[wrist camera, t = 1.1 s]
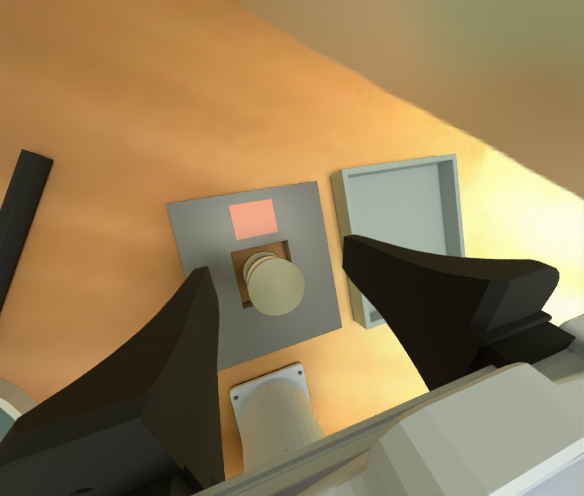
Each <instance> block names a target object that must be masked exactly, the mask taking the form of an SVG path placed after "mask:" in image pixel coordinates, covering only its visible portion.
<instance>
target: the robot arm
mask: <svg viewBox="0 0 584 496" xmlns="http://www.w3.org/2000/svg"><path fill="white" fill-rule="evenodd" d="M342 268H343V269H344V271H345V272H346V274H347V276H348V277H349V279H350V280H351V281H352V283H353V284H354V285H355V286H356V287H357V288H358V290H359V291H360V292H361V293H362V294H363V295H364V296H365V297H366V299H367V300H368V301H369V302H370V303H371V304H372V305H373V306H374V307H375V309H376V310H377V311H378V312H379V313H380V315H381V316H382V317H383V319H384V320H385V321H386V323H387V324H388V326H389V327H390V328H391V330H392V331H393V333H394V334H395V336H396V337H397V339H398V340H399V342H400V343H401V345H402V346H403V348H404V349H405V351H406V352H407V354H408V356H409V357H410V359H411V360H412V362H413V364H414V365H415V367H416V368H417V370H418V372H419V374H420V375H421V377H422V379H423V381H424V382H425V384H426V386H427V388H428V389H429V391H430V392H428V393H425V394H423V395H421V396H419V397H416V398H414V399H412V400H409V401H407V402H405V403H403V404H400V405H398V406H396V407H393V408H391V409H389V410H386V411H384V412H382V413H380V414H377V415H375V416H373V417H370V418H368V419H366V420H364V421H361V422H359V423H357V424H354V425H352V426H350V427H347V428H345V429H343V430H341V431H338V432H336V433H334V434H331V435H329V436H327V437H325V435H324V433H323V431H322V429H321V427H320V425H319V423H318V420H317V418H316V416H315V414H314V412H313V410H312V408H311V403H310V398H309V393H308V388H307V384H306V379H305V374H304V369H303V366H302V364H301V363H296V364H293V365H291V366H288V367H286V368H283V369H280V370H278V371H275V372H272V373H270V374H267V375H264V376H262V377H259V378H256V379H254V380H251V381H249V382H246V383H243V384H241V385H238V386H235V387H233V388H232V389H231V390H230V397H231V401H232V405H233V409H234V413H235V417H236V421H237V425H238V429H239V433H240V436H241V440H242V446H243V463H244V473H242V474H240V475H237V476H235V477H233V478H230V479H228V480H226V481H225V474H224V462H223V451H222V439H221V425H220V411H219V395H218V375H217V357H218V339H219V321H220V314H219V301H218V296H217V293H216V290H215V287H214V284H213V281H212V278H211V274H210V271H209V268H208V266H205V267H200V268H196V269H194V270H193V271H192V272H191V274H190V275H189V276H188V278H187V279H186V280H185V282H184V283H183V284H182V285H181V287H180V288H179V289H178V291H177V292H176V293H175V294H174V295H173V297H172V298H171V299H170V300H169V301H168V302H167V303H166V305H165V306H164V307H163V308H162V309H161V310H160V311H159V312H158V313H157V314H156V315H155V316H154V317H153V318H152V319H151V320H150V321H149V322H148V323H147V324H146V325H145V326H144V327H143V328H142V329H141V330H140V331H139V332H138V333H136V334H135V335H134V336H133V337H132V338H130V339H129V340H128V341H127V342H126V343H124V344H123V345H122V346H121V347H120V348H118V349H117V350H116V351H115V352H114V353H112V354H111V355H110V356H108V357H107V358H106V359H104V360H103V361H102V362H100V363H99V364H98V365H96V366H95V367H94V368H92V369H91V370H90V371H88V372H87V373H85V374H84V375H83V376H81V377H80V378H78V379H77V380H75V381H74V382H72V383H71V384H70V385H68V386H67V387H65V388H64V389H62V390H60V391H59V392H57V393H56V394H54V395H53V396H51V397H50V398H48V399H47V400H45V401H43V402H42V403H40V404H39V405H37V406H36V407H34V408H33V409H31V410H30V411H28V412H26V413H25V414H23V415H22V416H20V417H18V418H17V420H16V421H15V422H14V424H13V425H12V427H11V428H10V429H9V431H8V432H7V434H6V435H5V437H4V438H3V439H2V441H1V442H0V496H584V462H583V461H584V314H582V315H580V316H578V317H575V318H573V319H571V320H568V321H566V322H564V323H563V324H561V325H560V326H559V327H557V326H556V325H554V324H552V323H550V322H548V321H550V320H551V319H552V317H551V315H549V314H547V313H546V312H544V311H542V310H541V309H542V308H543V306H544V305H545V303H546V302H547V300H548V299H549V297H550V296H551V294H552V293H553V291H554V289H555V288H556V286H557V284H558V281H559V272H558V270H557V269H556V268H555V267H552V266H550V265H547V264H545V263H542V262H539V261H535V260H530V259H480V258H466V257H456V256H447V255H440V254H433V253H428V252H422V251H417V250H412V249H408V248H404V247H400V246H396V245H393V244H389V243H386V242H382V241H379V240H375V239H372V238H368V237H365V236H361V235H356V234H352V235H348V236H344V240H343V263H342ZM299 371H301V372H300V373H298V372H299ZM234 396H238V397H237V398H234Z"/></svg>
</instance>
